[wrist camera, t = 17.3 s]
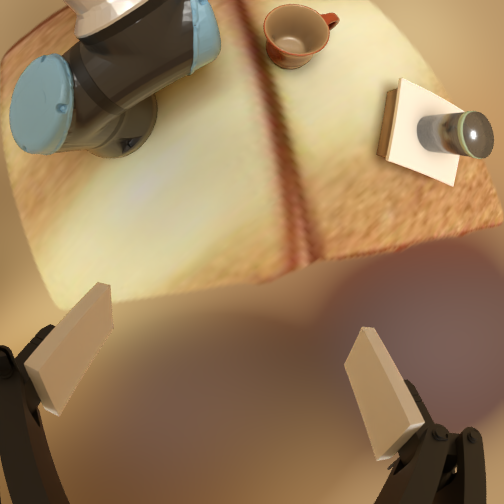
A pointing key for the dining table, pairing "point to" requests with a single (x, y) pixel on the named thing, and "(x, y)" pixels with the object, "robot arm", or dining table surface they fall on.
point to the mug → (296, 34)
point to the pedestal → (414, 132)
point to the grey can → (456, 134)
